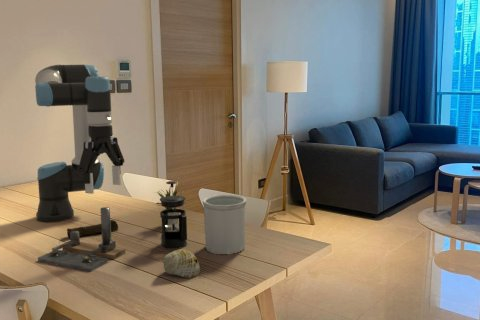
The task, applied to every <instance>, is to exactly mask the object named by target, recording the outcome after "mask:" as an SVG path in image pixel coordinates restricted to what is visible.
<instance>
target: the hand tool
mask: <svg viewBox="0 0 480 320" xmlns="http://www.w3.org/2000/svg"><path fill="white" fill-rule="evenodd" d="M110 221H111V233H112V232H115V231H118V230H119V224H118V223H117V221H116V220H113V219H110ZM66 229H67V230H66V234H67V238H68V239H69V240H70V232H72V231H79V237H82V236H89V235H93V234H99V233H101V234H102V227H101V223H97V224H93V225H92V224H91V225H87V226H86V225H85V226H79V227H74V228H73V227H72V228H66Z"/></svg>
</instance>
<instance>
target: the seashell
mask: <svg viewBox="0 0 480 320" xmlns="http://www.w3.org/2000/svg"><path fill="white" fill-rule="evenodd" d="M162 263H163V269H164V271H165V272H166V274H168V275H170V276H171V275H173V276H174V275H175V276H178V277H183V278H186V279H187V278H189V279H190V278H191V279H192V278H194V277H197V276H199V275H200V270H201V267H200V263H199V260H198V258H197V256H195V254H194V253H192V252H191V251H189V250H188V249H182V248H178V249H174V250H173V251H172V252H169V253H167V254H166V255H164V257H163V261H162Z"/></svg>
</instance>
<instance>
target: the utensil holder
mask: <svg viewBox="0 0 480 320" xmlns="http://www.w3.org/2000/svg"><path fill="white" fill-rule="evenodd" d="M246 204H247V198H246V197H244V196H242V195H238V194H229V193H228V194H227V193H225V194H215V195H214V194H212V195H210V196H207V197H204V198H203V199H202V205H203V218H204V219H203V220H204V221H203V222H204V239H205V249H206V250H207V252H209V253H211V254H214V255H220V254H228V255H234V254H233V253H235V254H238V253H237V252H239V253H240V251H241V252H242V251H244V250H245V246H246ZM243 249H244V250H243Z"/></svg>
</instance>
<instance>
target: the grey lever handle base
mask: <svg viewBox="0 0 480 320" xmlns="http://www.w3.org/2000/svg"><path fill="white" fill-rule="evenodd" d="M97 248H99V244H96V243H91V242H83V241H81V240H80V236H79V231H72V232H70V239H69V240H68V241H67V242H64V243H61V244H59V245H56V246H54V247H52V248H51V252H52V253H53V254H54V253H55V252H56V250H61V249H62V251H66V252H71V253H77V254H82V255H85V254H87V253H89V252H91V251H93V250H95V249H97ZM125 254H126V249H125V248H121V247H116V248H114V249H112V250H110V251H108V252H102V251H100V252H98V253H96V254H94V255H92V256H94V257H99V258H105V259H108V260H109V259H110V260H115V259H118V258H119V257H122V256H123V255H125Z"/></svg>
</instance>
